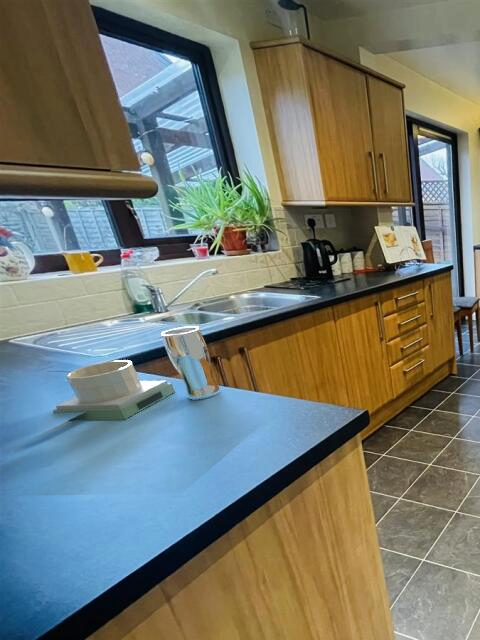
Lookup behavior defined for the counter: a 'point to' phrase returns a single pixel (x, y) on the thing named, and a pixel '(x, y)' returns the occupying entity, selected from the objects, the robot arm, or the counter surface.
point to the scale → (118, 403)
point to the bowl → (104, 381)
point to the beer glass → (191, 361)
